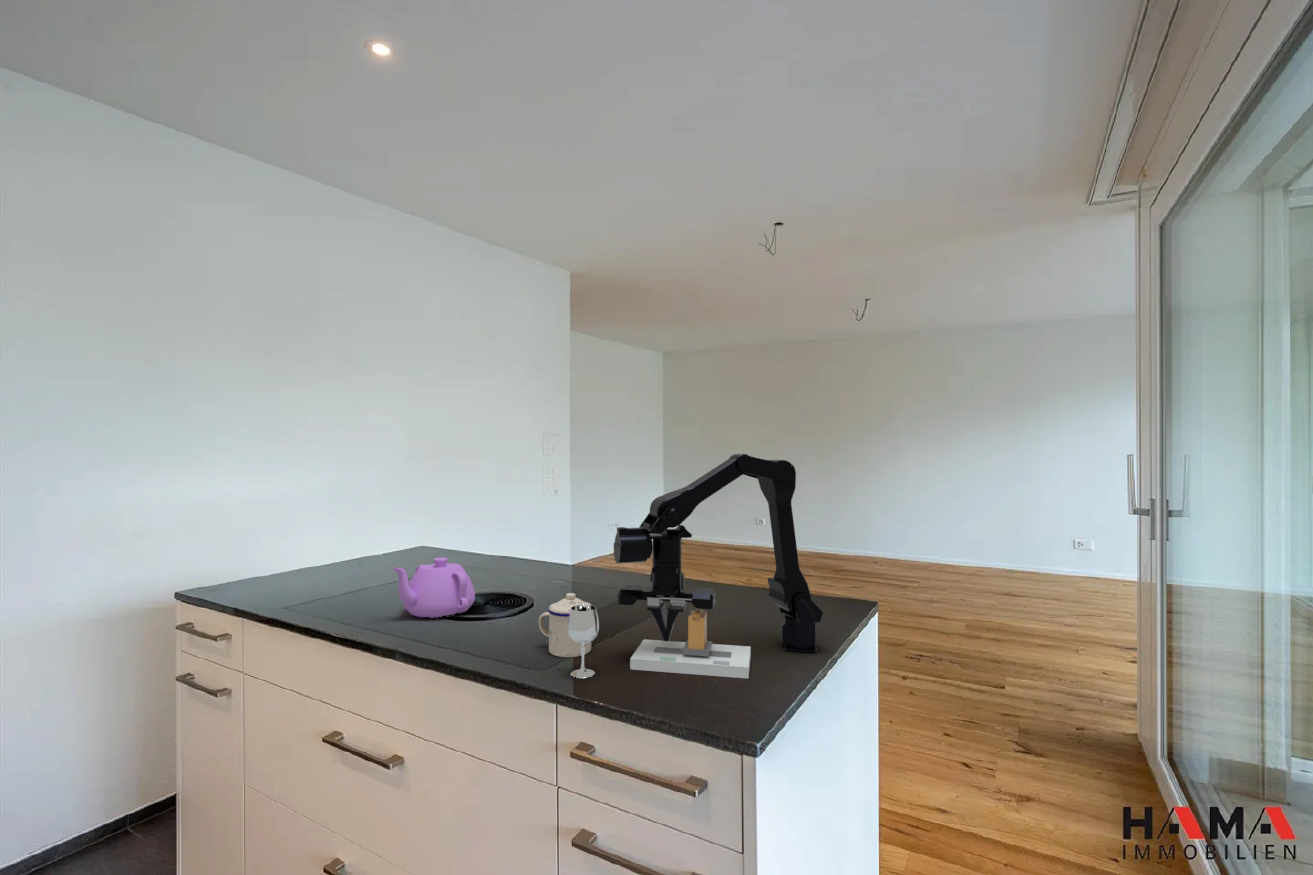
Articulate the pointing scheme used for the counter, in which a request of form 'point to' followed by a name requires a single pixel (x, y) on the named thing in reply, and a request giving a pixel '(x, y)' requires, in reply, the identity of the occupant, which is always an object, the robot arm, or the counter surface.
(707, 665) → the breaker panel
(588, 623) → the wineglass
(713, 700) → the counter surface
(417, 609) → the teapot
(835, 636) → the counter surface
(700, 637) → the toggle
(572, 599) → the teacup with lid
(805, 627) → the robot arm
